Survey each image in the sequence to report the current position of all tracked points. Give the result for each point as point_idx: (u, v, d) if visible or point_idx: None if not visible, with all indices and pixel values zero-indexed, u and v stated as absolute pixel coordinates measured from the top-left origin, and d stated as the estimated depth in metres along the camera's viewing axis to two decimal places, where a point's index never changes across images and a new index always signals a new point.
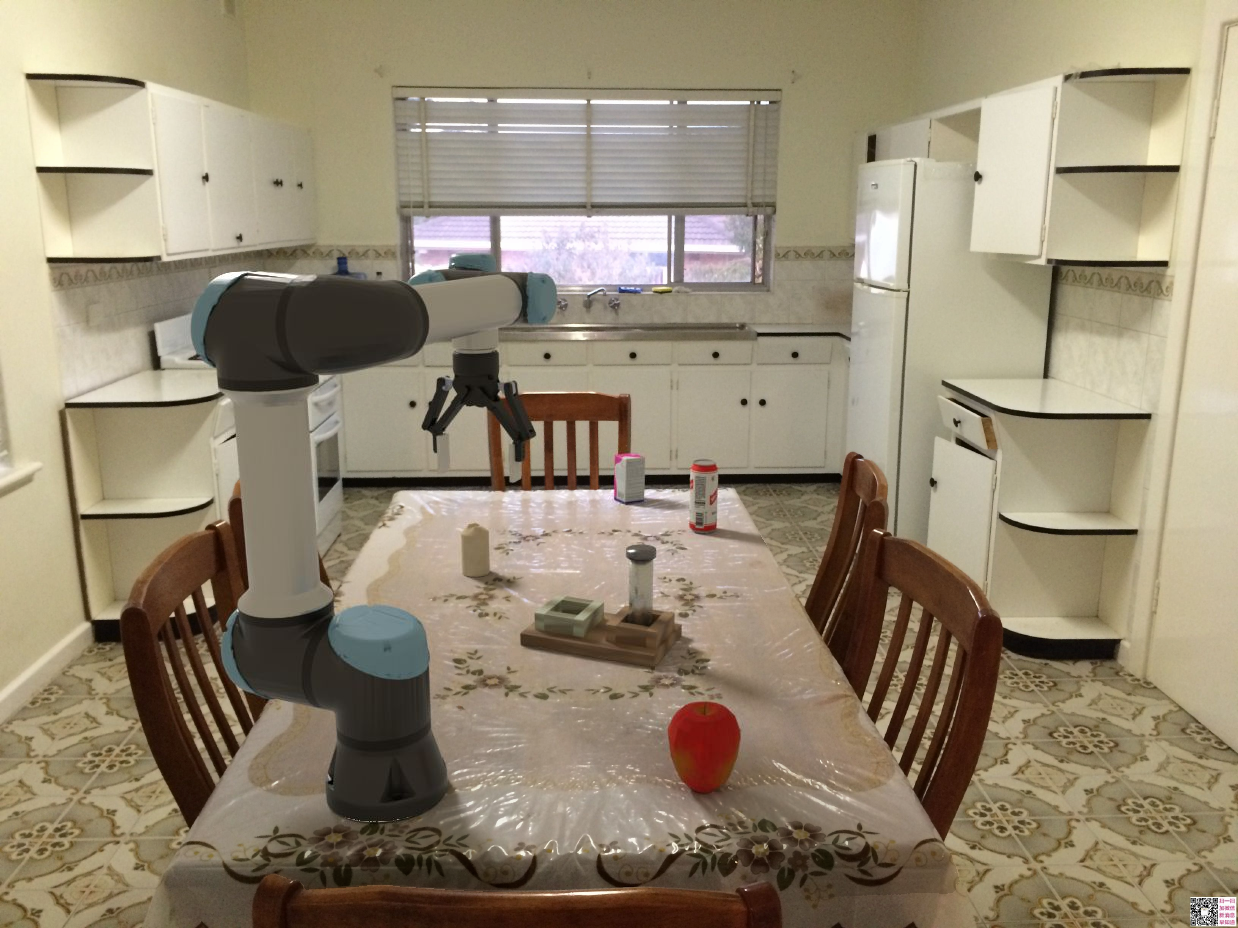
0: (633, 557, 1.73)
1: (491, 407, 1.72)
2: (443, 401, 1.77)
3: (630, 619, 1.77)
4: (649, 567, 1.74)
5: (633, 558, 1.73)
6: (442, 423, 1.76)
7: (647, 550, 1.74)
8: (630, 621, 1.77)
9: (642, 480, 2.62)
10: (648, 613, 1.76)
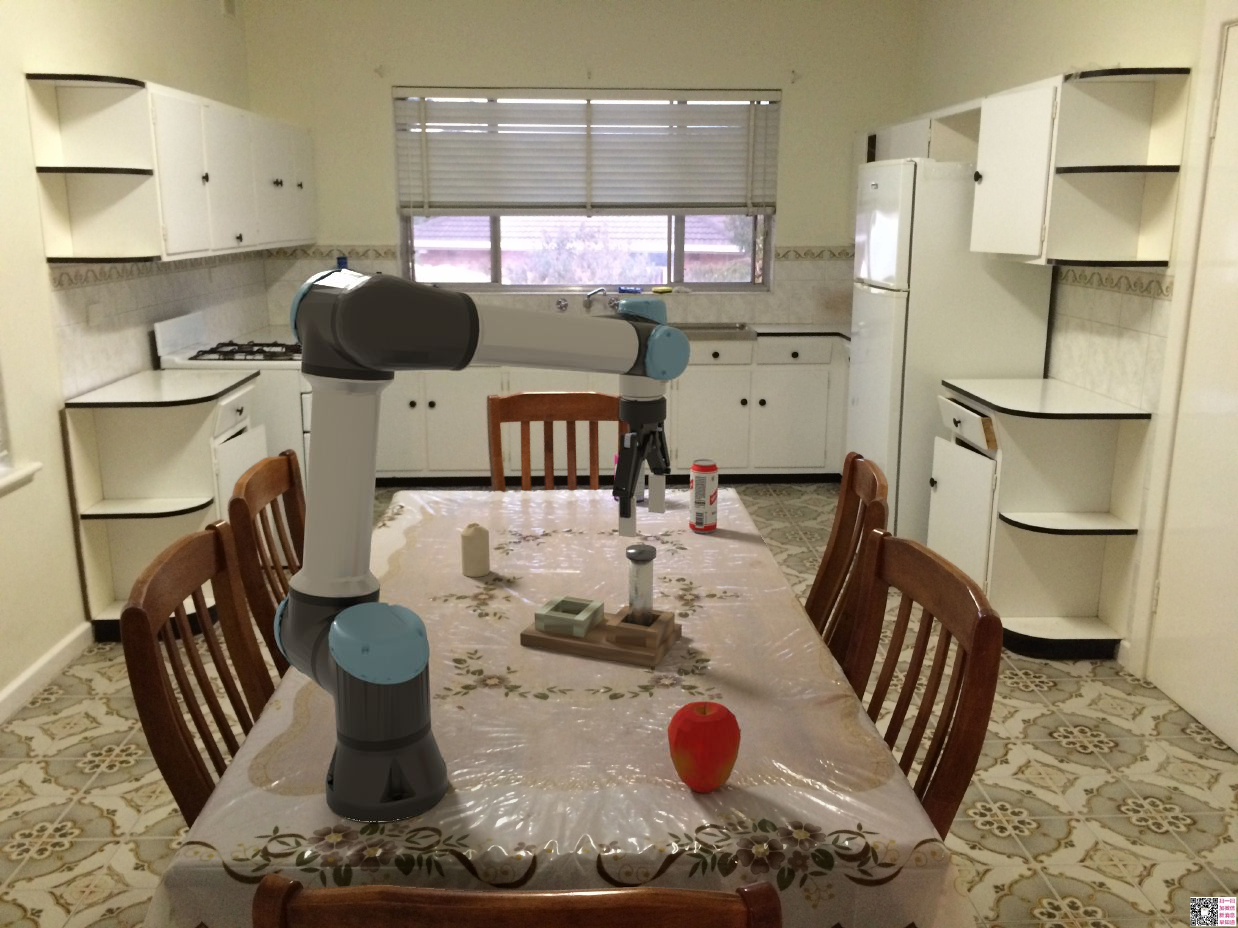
0: (633, 557, 1.73)
1: None
2: (659, 443, 1.76)
3: (630, 619, 1.77)
4: (649, 567, 1.74)
5: (633, 558, 1.73)
6: None
7: (647, 550, 1.74)
8: (630, 621, 1.77)
9: (642, 480, 2.62)
10: (648, 613, 1.76)
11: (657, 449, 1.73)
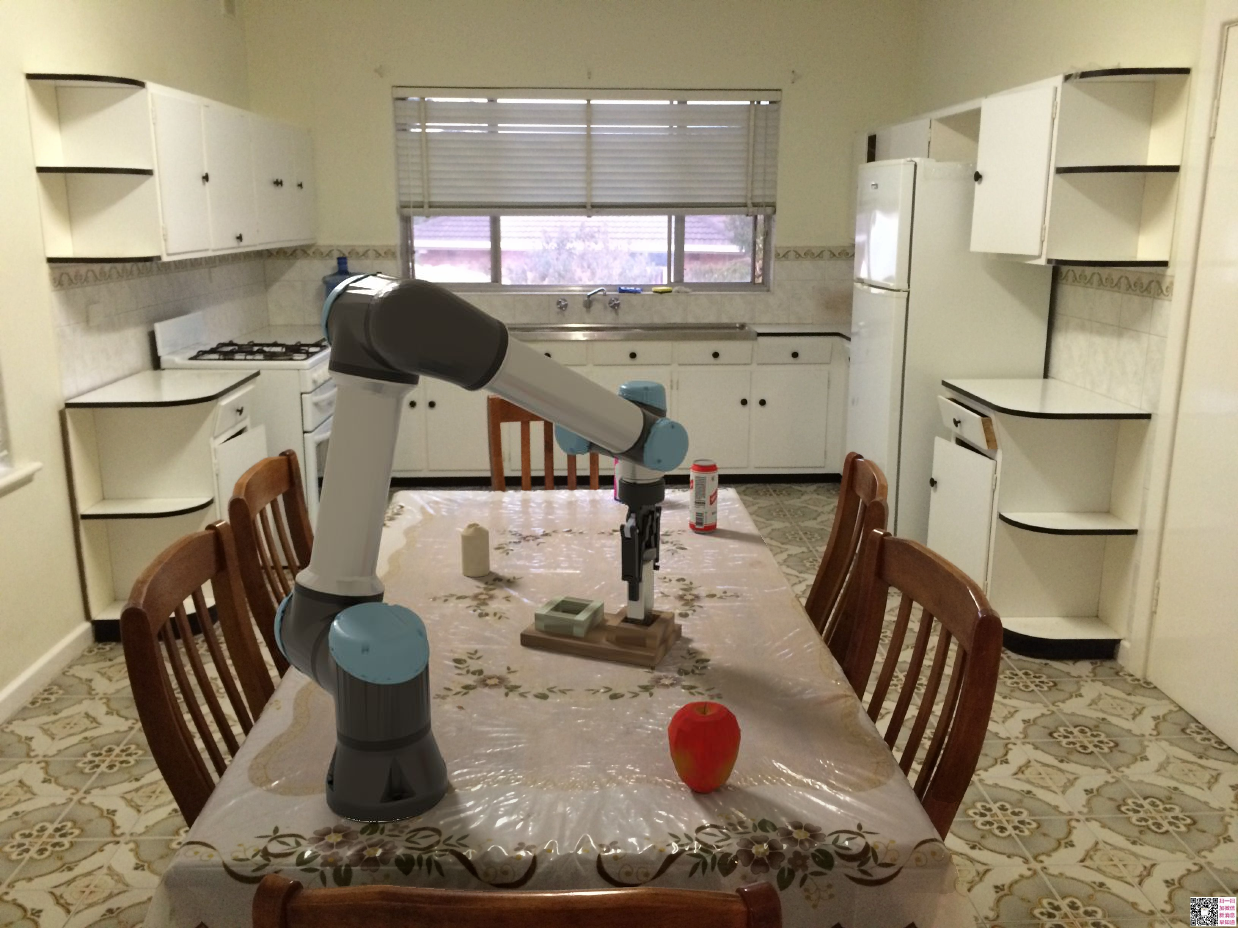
0: None
1: None
2: None
3: (630, 619, 1.77)
4: (649, 567, 1.74)
5: None
6: None
7: (647, 550, 1.74)
8: (630, 621, 1.77)
9: None
10: (648, 613, 1.76)
11: (652, 532, 1.75)
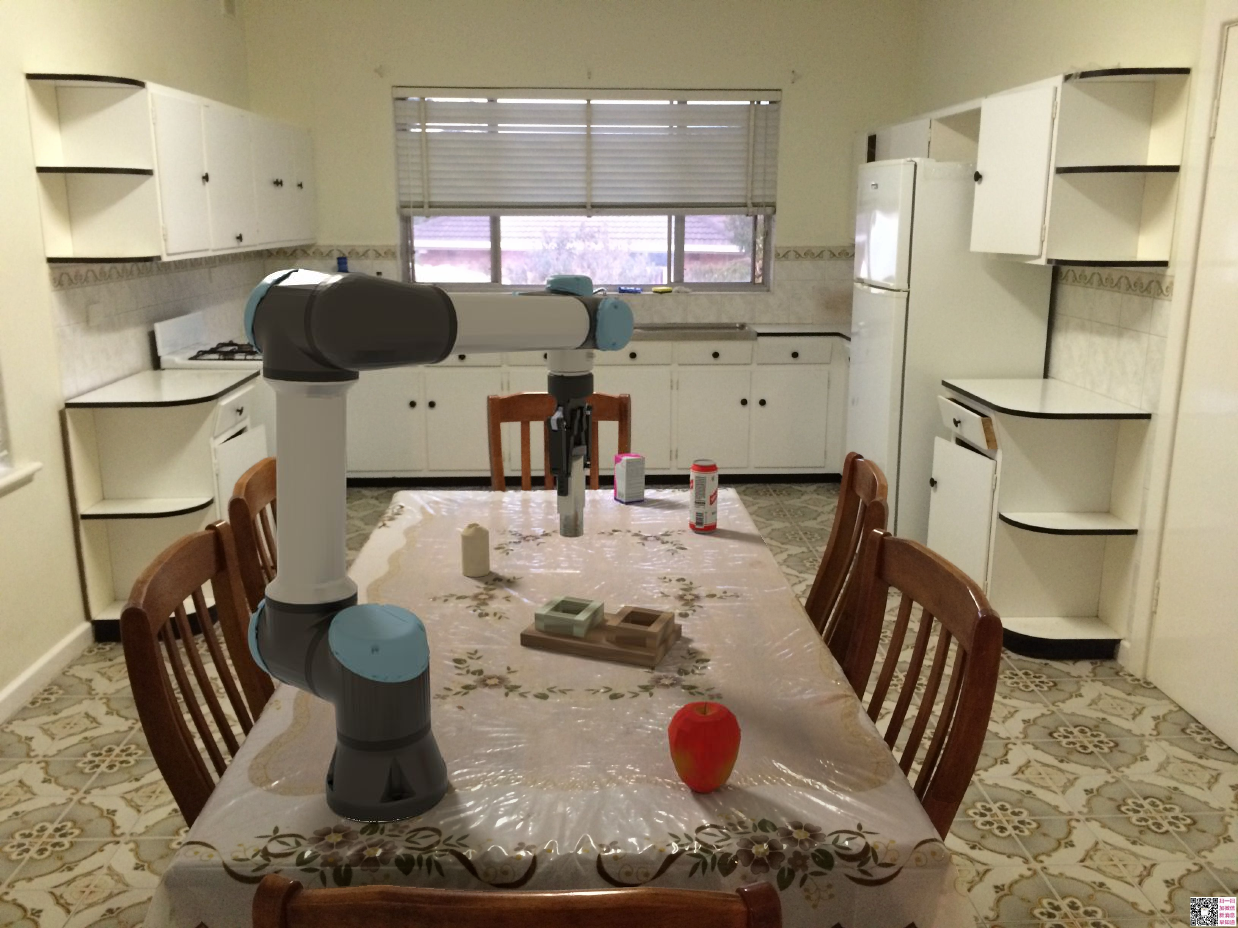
0: None
1: None
2: (585, 429, 1.79)
3: (561, 517, 1.77)
4: (578, 463, 1.74)
5: None
6: None
7: (577, 447, 1.74)
8: (561, 519, 1.77)
9: (642, 480, 2.62)
10: (578, 510, 1.76)
11: (582, 429, 1.75)
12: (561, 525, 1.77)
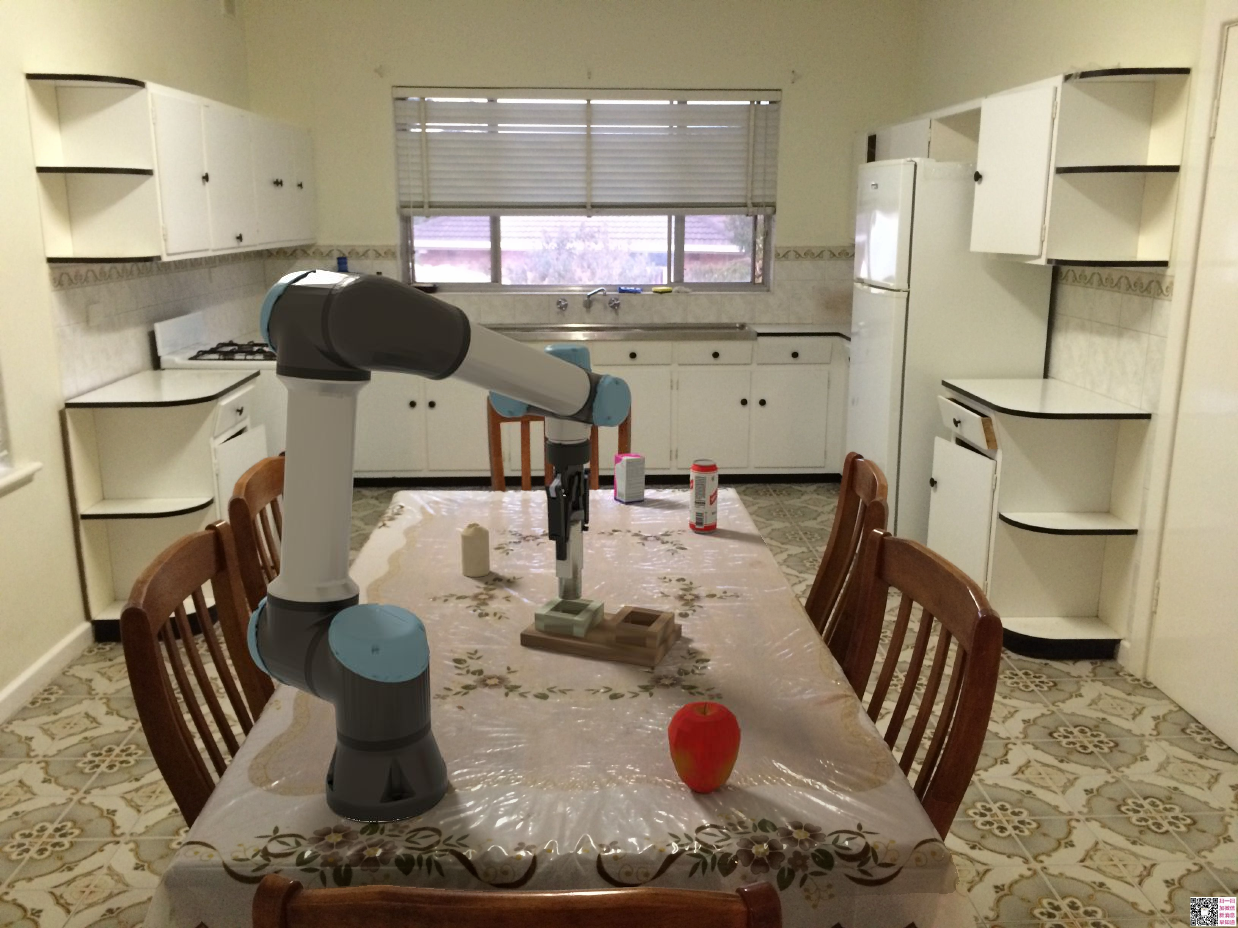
0: None
1: None
2: (583, 492, 1.82)
3: (559, 580, 1.80)
4: (576, 528, 1.77)
5: None
6: None
7: (575, 512, 1.77)
8: (559, 582, 1.80)
9: (642, 480, 2.62)
10: (576, 573, 1.79)
11: (580, 493, 1.78)
12: (560, 588, 1.80)
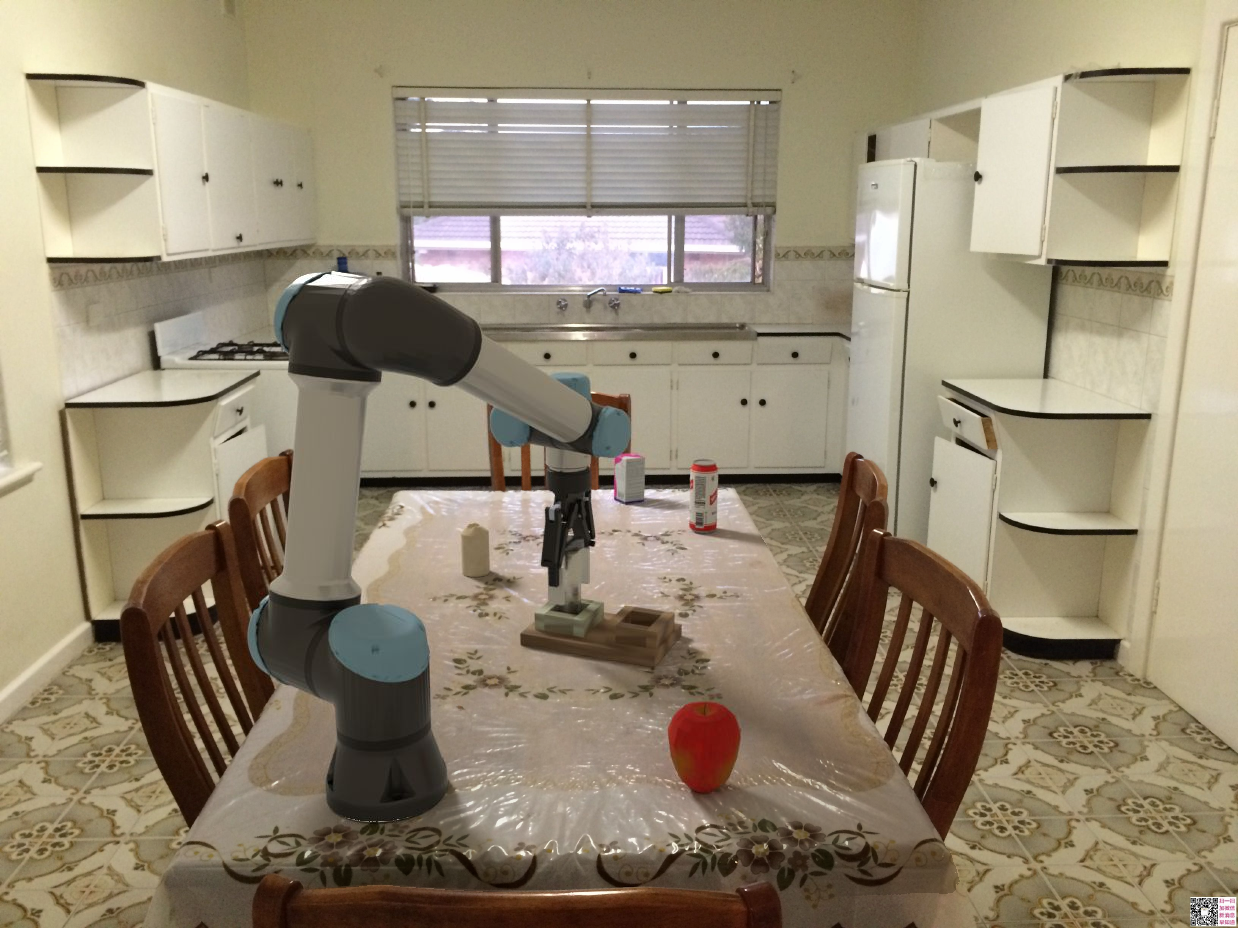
0: None
1: None
2: (586, 513, 1.84)
3: (559, 608, 1.81)
4: (576, 557, 1.78)
5: None
6: (574, 533, 1.84)
7: (575, 541, 1.78)
8: (559, 610, 1.81)
9: (642, 480, 2.62)
10: (576, 602, 1.80)
11: (582, 518, 1.80)
12: None
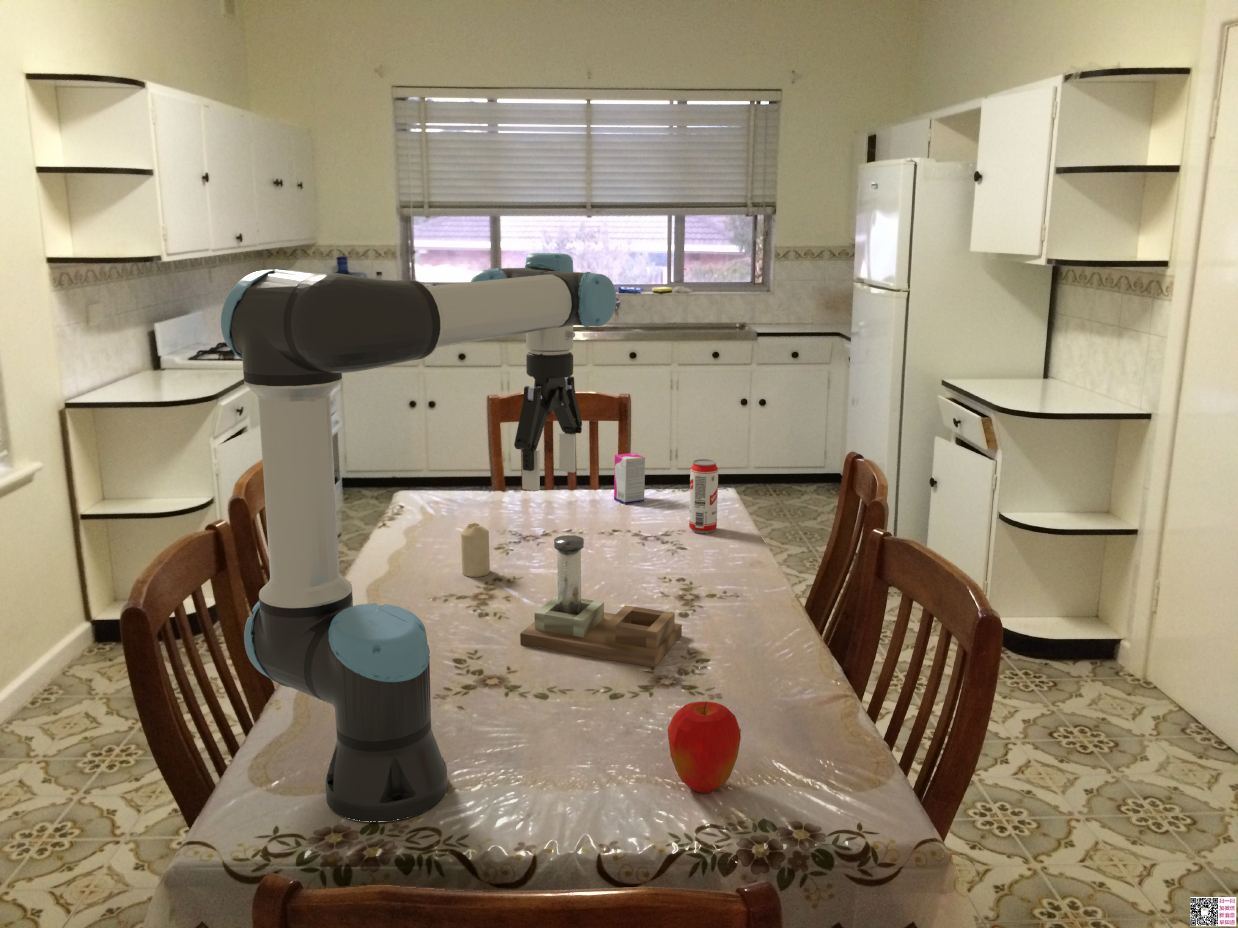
0: (561, 547, 1.77)
1: None
2: (570, 401, 1.78)
3: (559, 608, 1.81)
4: (576, 557, 1.78)
5: (560, 548, 1.77)
6: None
7: (575, 541, 1.78)
8: (559, 610, 1.81)
9: (642, 480, 2.62)
10: (576, 602, 1.80)
11: (565, 406, 1.74)
12: None
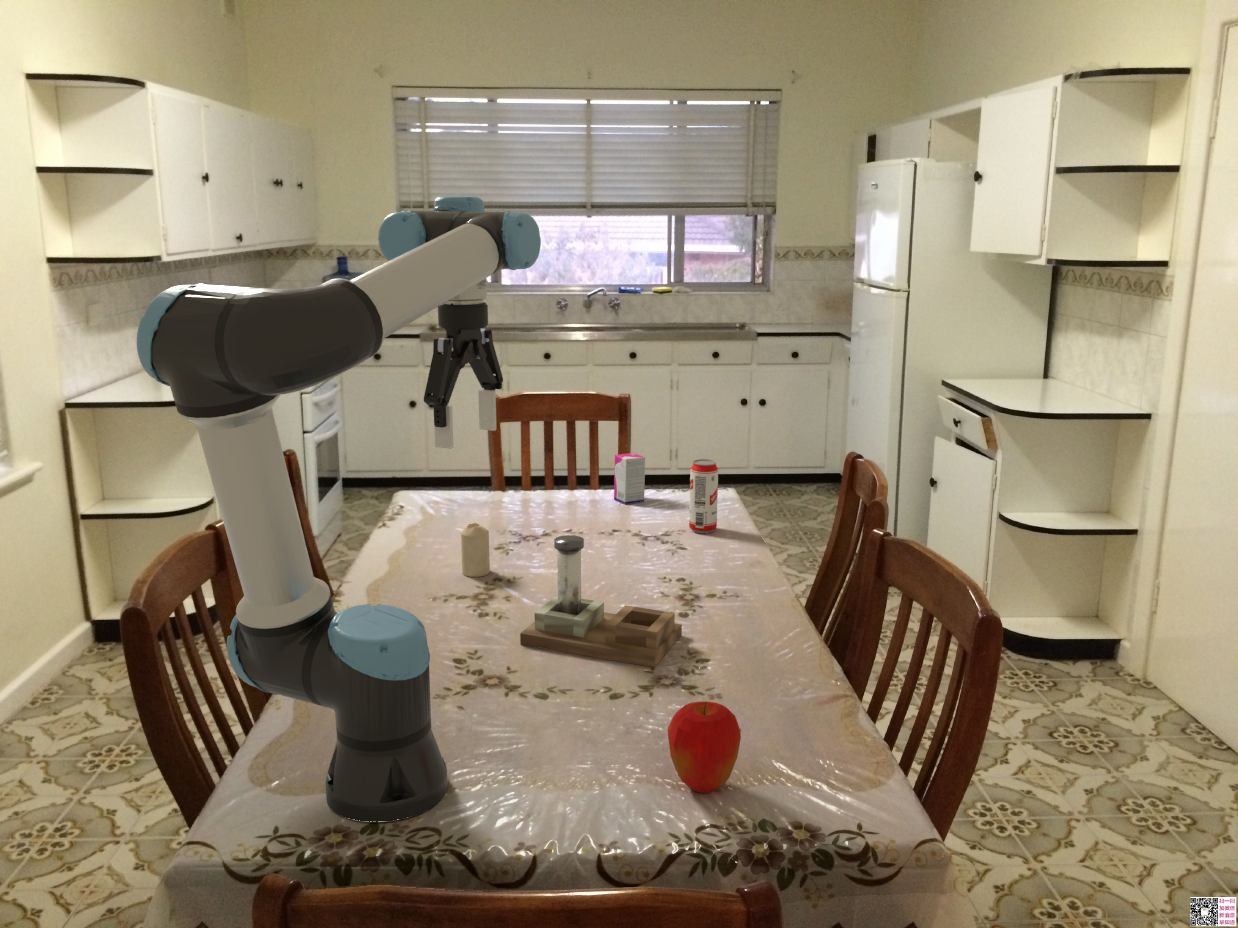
0: (561, 547, 1.77)
1: None
2: (488, 355, 1.69)
3: (559, 608, 1.81)
4: (576, 557, 1.78)
5: (560, 548, 1.77)
6: None
7: (575, 541, 1.78)
8: (559, 610, 1.81)
9: (642, 480, 2.62)
10: (576, 602, 1.80)
11: (482, 360, 1.65)
12: None
